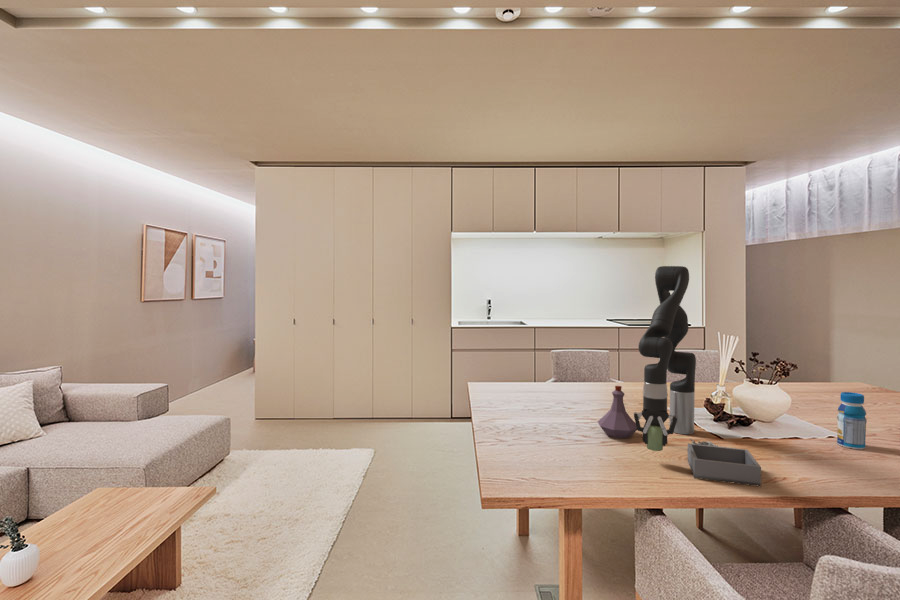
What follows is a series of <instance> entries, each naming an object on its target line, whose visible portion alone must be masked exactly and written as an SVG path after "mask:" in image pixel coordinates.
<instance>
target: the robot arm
mask: <svg viewBox="0 0 900 600" xmlns="http://www.w3.org/2000/svg"><path fill="white" fill-rule="evenodd" d="M654 275H655V276H654V281H655V286H656V292H657V296H658V300H659V304H658V306H657V307H656V308H655V310H654V311H653V314H652V317H651V320H650V323H649V327H648V328H647V329H646V331H645V332H644V333H643V335H642V336H641V338H640V340H639V342H638V353H639V354H640V355H641V356H642V357H645V358H653V359H654V358H655V359H659V361H658V363H649V364H645V366H644V370H643V371H644V372H643V375H644V376H643V379H644V380H643V391H642V396H643V397H642V398H643V399H642V400H643V402H642V404H643V405H642V411H641V412H636V411H634V412H633V418H634V422H635V423H636V426H637V431H638V432H641V433H642V442H643V443H644V445H647V430H648V428H649V426H650V425H657V426H661V429H662V431H663V447H665V446H666V445H668V435H673V434H674V433H675V434H679V435H693V434H694V433H695V397H696V396H695V391H696V390H695V388H696V387H695V386H696V384H695V383H696V382H695V381H696V380H695V379H696V369H697V368H696V366H697V365H696V364H697V359H696V355H695V353H693V352H688V351H676V349H677V347H678V345H679V344H680V342H682V340H683V339H684V338H685V337H686V335H687V334H688V331H689V321H688V314H687V313H686V310H685V309H684V308H683V307H682V306H681V303H682V301H683V299H684V297H685V294H686V291H687V289H688V286H689V282H690V271H689V269H688V267H686V266H681V265H679V266H678V265H677V266H675V265H663V266H662V265H661V266H659V267H657V268H656V270H655V274H654ZM671 291H672V293H671ZM668 372H669V373H671V374H674V375H675V374H677V375H685V377H684V378H682V379H679V380H675V381H672V382H671V383H670V384H669V395H668V385H667V383H668V382H667V379H668V378H667V375H668V374H667V373H668ZM668 396H669V413H668ZM642 417H643V418H644V420H645V422H644V424H643V426H641V423H640V420H641V418H642ZM668 419H669V428H668V429H667V428H666V426H665V422H666V421H667V420H668Z"/></svg>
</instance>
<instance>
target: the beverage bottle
mask: <svg viewBox="0 0 900 600" xmlns="http://www.w3.org/2000/svg"><path fill="white" fill-rule="evenodd" d="M840 402H841V403H840V405H839V406H838V409H837V412H838V414H837V415H836V419H837V438H836V439H837V440H836V444H837V445H839V446H841V447H842V446H843V447H842V448H847V449H850V448H852V450H865V449H866V438H867V436H866V435H867V434H866V432H867V431H866V430H867V418H866V416H867V411H866V409H865V407H864V406H863V405H864V403H865V395H864V394H862V393H858V392H852V391H851V392H849V391H843V392H841V393H840Z"/></svg>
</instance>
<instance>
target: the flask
mask: <svg viewBox="0 0 900 600" xmlns="http://www.w3.org/2000/svg"><path fill="white" fill-rule="evenodd" d="M622 388H623V387H622V386H621V385H615V386H614V390H613V391H612V392H611V394H612V395H613V399H612V404H611V407H610V408H609V410H608V411H607V412H606V413H605V414H604V415H602V417H601V418H600V419H599V420H598V421H597V424H598V425H599V426H600V428H601V429H602V431H603V432H604V433H605V434H606V436H607V437H609V438H613V439H621V438H622V439H623V440H625V439H628V438H630V437H632V435H634V433H635V432H637V431H638V430H637V426H636V422H635V420H633V418H631V416H630V415H629V414H628V412H627V410H626V407H625V403H624V396H625V393H624V391H622Z"/></svg>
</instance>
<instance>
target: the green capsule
mask: <svg viewBox="0 0 900 600" xmlns="http://www.w3.org/2000/svg"><path fill="white" fill-rule="evenodd" d="M646 448H647V449H648V450H650V451H654V452H659V451H663V448H664V446H663V431H662V429H661V426H657V425H650V426H649V428H648V430H647V444H646Z"/></svg>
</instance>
